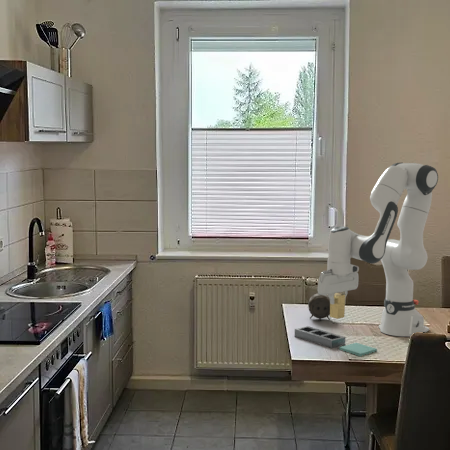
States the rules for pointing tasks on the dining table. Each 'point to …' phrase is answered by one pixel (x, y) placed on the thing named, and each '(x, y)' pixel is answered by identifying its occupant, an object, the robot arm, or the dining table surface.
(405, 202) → the robot arm
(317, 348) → the dining table surface
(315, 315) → the alarm clock
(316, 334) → the grey peg holder tray
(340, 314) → the brass peg
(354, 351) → the teal board
